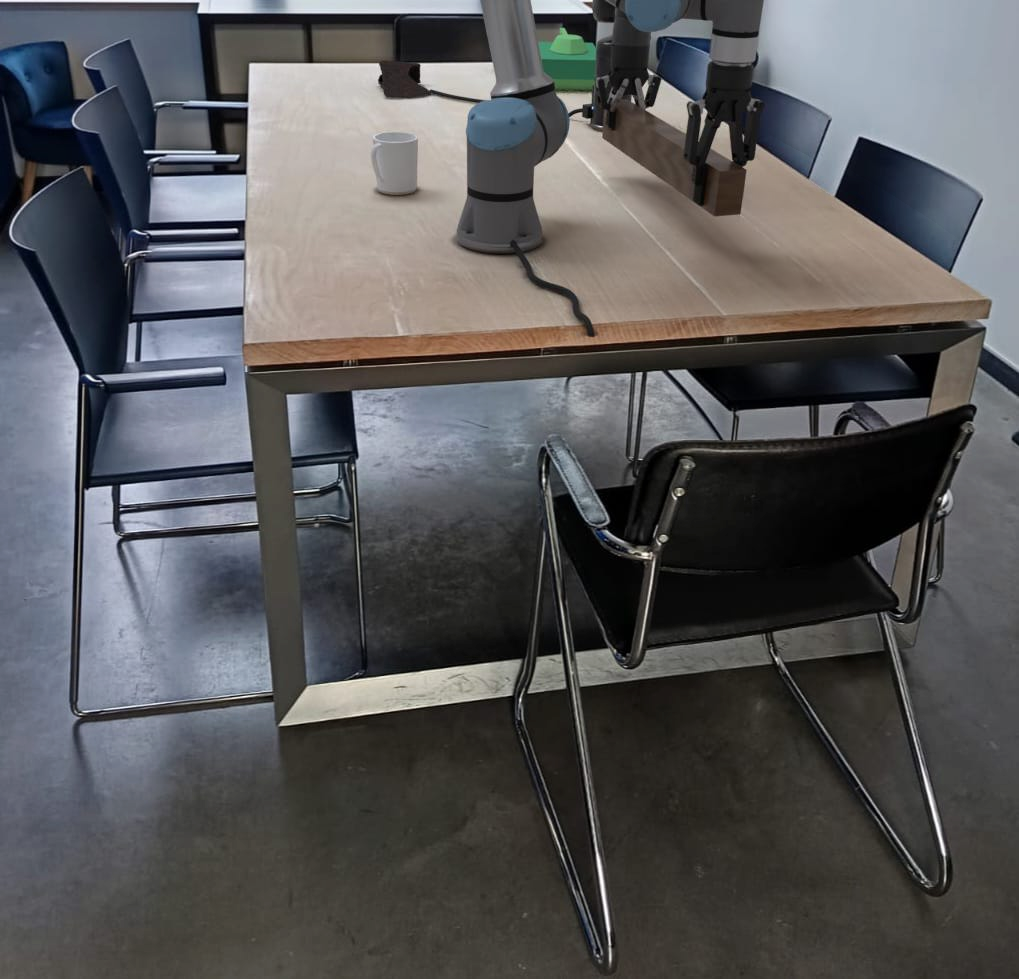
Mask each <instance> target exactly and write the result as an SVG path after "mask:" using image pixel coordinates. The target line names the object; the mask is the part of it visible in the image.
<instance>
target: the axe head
mask: <svg viewBox="0 0 1019 979" xmlns="http://www.w3.org/2000/svg"><path fill="white" fill-rule="evenodd" d="M378 66H379V68H380V72H381V74H379V75H378V79H377V84H378V85H379V86H380V87H381V88H382V89H383V95H384V96H385V97H388V98H394V99H395V98H396V99H403V98H405V99H406V98H407V99H411V98H418V97H425V96H429V95H433V94H432V92H431V91H430V89H428V88H427V87H425V86H422V85H421V84H422V82H421V63H419V62H410V61H408V62H407V61H397V60H388V59H387V60H380V61H379V62H378Z"/></svg>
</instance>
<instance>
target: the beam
mask: <svg viewBox="0 0 1019 979" xmlns="http://www.w3.org/2000/svg"><path fill="white" fill-rule="evenodd" d="M607 102H608V100H607ZM615 112H616V123H615V131H611V130H609V129H608V127H607V126H606V113H607V111H606V109H604V119H603V131H602V136H601V138H602V139H603V140H604V141H605V142H606V143H608V144H610V145H611V146H613V147H614V148H616V149H617V150H619V151H620V152H621V153H623V154H624V155H625V156H627V157H629V158H630V159H631V160H632V161H634V162H636V164H638V165H640V166H641V167H643V168H644V169H646V170H647V171H649V172H650V173H652V174H653V175H654V176H656V177H657V178H658V179H660V180H662V181H663V182H664V183H666V184H667V185H669V186H670V187H672V188H673V189H674V190H676V191H677V192H679V193H680V194H682V195H683V196H684V197H685V198H687V199H689V200H690V201H691V202H693V196H694V188H695V185H694V184H692V182H691V178H692V170H693V165H692V164H690V163H688V162H686V161H685V160H684V159H683V155H684V147H685V139H686V133H685V132H684V131H682V130H680V129H678V127H677V128H676V127H675V126H674V125H671V124H669V123H668V122H666V121H665V120H663V119H661V118H660V117H658V116H656V115H654V114H653V113H651V112H650V111H648V110H647V109H645V110H644V109H643V108H641V107H639V106H637V105H636V104H635V102H632V100H631V101H629V100H627V99H622V100H620V102H619V103H618V105H617V107H616V110H615ZM698 142H699V140H698ZM704 166H706V167H708V175H707V183H706V191H705V199H704V206H699V205H698V204H696V203H695V202H693V203H694V204H696V205H697V206H699V207H700V208H702V209H703V210H704V211H706V212H707V213H708V214H710V215H712V217H724V216H725V217H727V216H737V215H738V216H739V215H742V214H741V213H742V208H743V200H744V193H745V185H746V179H747V172H748V171H747V169H746V168H745V167H744V166H743V167H741V166H739V165H738V164H736V163H734V162H733V160H732V159H729V158H728V157H726V156H724V155H722V154H721V153H719V152H717V151H715V150H714V149H712V148H710V151H709V154H708V157H707V159H706V162H705V165H704Z"/></svg>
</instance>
